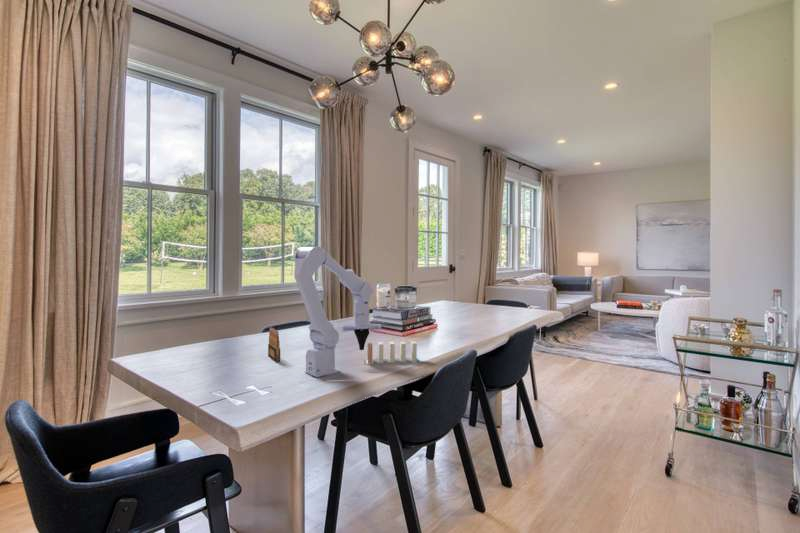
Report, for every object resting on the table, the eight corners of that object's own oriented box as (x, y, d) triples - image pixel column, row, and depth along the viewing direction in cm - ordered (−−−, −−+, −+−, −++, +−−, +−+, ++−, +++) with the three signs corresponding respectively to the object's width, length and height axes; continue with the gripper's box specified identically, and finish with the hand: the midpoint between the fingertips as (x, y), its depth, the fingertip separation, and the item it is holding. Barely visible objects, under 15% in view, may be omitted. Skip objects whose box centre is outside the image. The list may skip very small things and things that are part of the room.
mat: (364, 365, 150) (364, 364, 150) (363, 360, 157) (363, 359, 157) (420, 363, 153) (420, 362, 153) (417, 358, 160) (417, 357, 160)
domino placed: (368, 363, 152) (368, 344, 152) (367, 360, 156) (367, 342, 156) (372, 363, 152) (372, 344, 152) (371, 360, 156) (371, 342, 156)
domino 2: (390, 362, 153) (390, 344, 153) (389, 359, 157) (389, 341, 157) (394, 362, 153) (394, 344, 153) (393, 359, 157) (393, 341, 157)
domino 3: (401, 362, 154) (401, 343, 153) (399, 359, 158) (400, 341, 157) (405, 362, 154) (405, 343, 154) (404, 359, 158) (404, 341, 158)
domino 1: (379, 363, 152) (379, 344, 152) (378, 360, 156) (378, 342, 156) (383, 362, 153) (383, 344, 152) (382, 360, 157) (382, 341, 156)
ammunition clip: (268, 356, 163) (267, 326, 163) (272, 355, 164) (272, 326, 164) (275, 362, 154) (275, 331, 154) (280, 361, 155) (280, 330, 155)
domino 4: (412, 361, 154) (412, 343, 154) (410, 359, 158) (410, 341, 158) (416, 361, 154) (416, 343, 154) (414, 359, 158) (414, 341, 158)
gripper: (343, 315, 147) (343, 353, 148) (382, 314, 151) (382, 350, 151) (341, 312, 154) (341, 348, 155) (379, 311, 158) (378, 346, 158)
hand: (361, 349), depth 153 cm, fingers closed
